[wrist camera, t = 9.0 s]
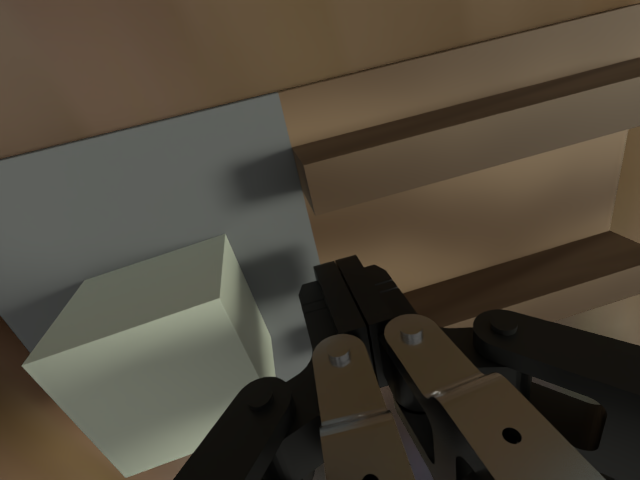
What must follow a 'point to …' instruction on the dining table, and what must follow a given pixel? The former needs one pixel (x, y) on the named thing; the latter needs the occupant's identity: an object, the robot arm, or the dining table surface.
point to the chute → (480, 169)
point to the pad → (160, 215)
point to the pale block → (155, 353)
